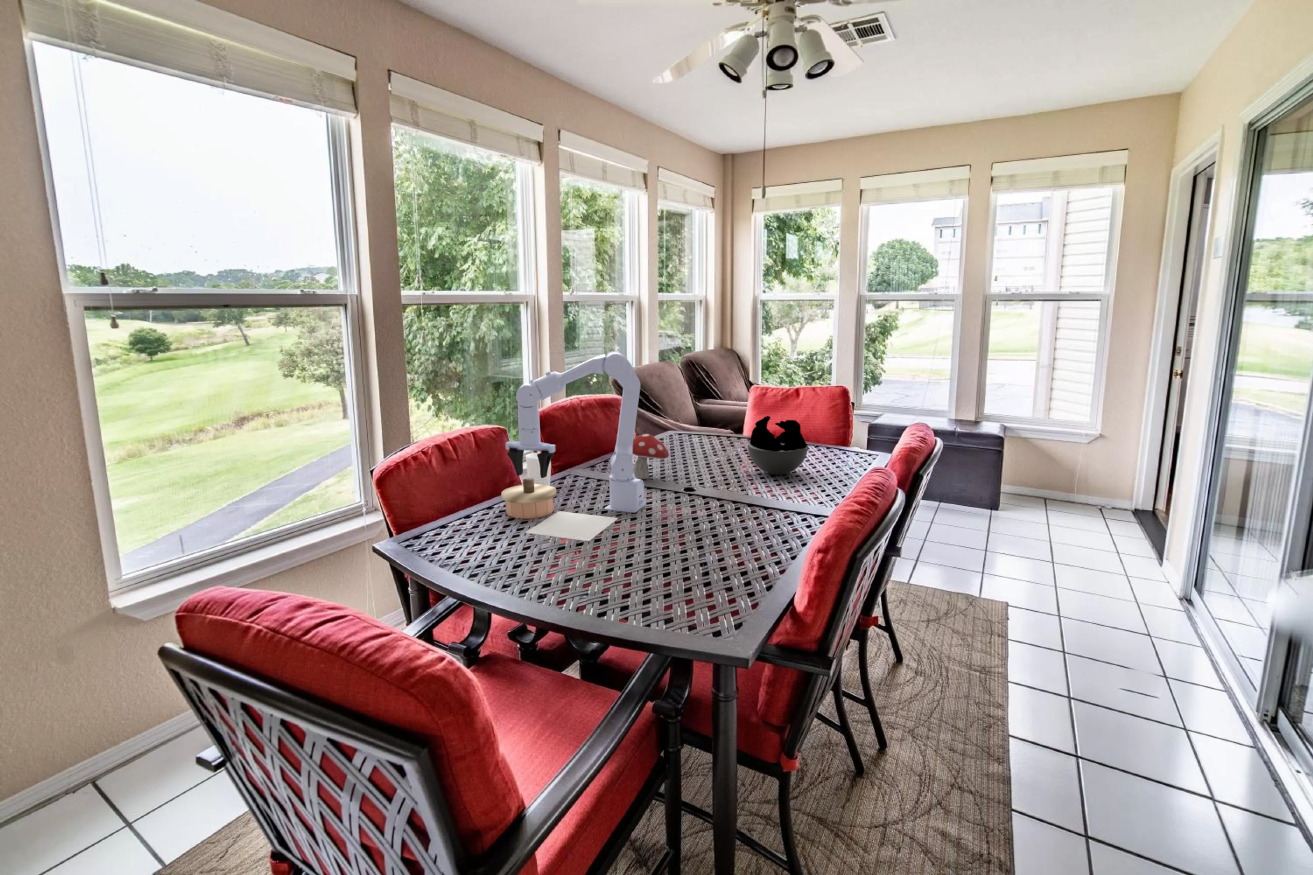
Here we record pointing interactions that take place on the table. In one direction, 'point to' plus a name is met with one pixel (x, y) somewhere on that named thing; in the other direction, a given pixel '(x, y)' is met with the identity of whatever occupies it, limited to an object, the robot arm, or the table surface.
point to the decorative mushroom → (647, 453)
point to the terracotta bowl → (530, 509)
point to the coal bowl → (777, 447)
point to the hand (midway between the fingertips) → (531, 475)
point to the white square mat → (572, 526)
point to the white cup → (536, 470)
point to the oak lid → (528, 492)
